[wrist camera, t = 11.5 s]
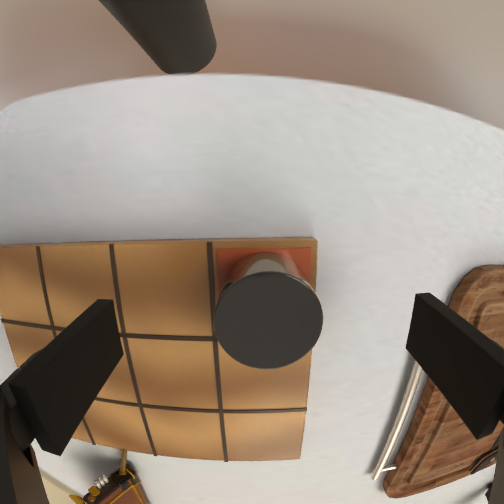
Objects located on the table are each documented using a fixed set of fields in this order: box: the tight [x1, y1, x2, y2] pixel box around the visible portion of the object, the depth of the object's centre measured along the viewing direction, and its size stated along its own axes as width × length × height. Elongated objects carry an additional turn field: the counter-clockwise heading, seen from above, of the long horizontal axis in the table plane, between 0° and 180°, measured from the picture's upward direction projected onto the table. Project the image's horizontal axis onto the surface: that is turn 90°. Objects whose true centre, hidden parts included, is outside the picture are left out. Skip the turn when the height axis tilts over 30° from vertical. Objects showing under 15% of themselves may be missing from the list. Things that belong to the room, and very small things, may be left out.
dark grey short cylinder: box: [214, 251, 323, 369], centre depth 16 cm, size 5×5×4 cm
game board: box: [0, 237, 317, 462], centre depth 20 cm, size 18×24×1 cm
